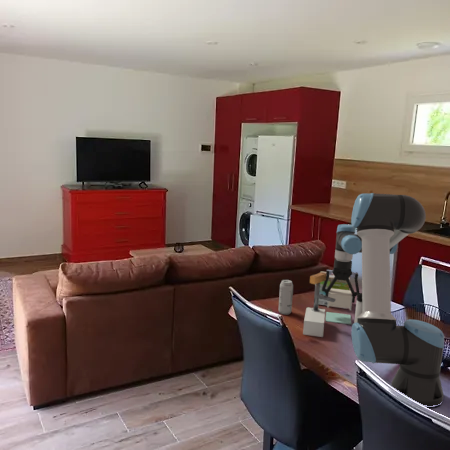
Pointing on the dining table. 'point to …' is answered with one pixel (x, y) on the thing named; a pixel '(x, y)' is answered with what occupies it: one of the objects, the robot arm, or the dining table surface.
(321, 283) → the tea box
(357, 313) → the travel mug
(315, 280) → the t key
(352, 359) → the dining table surface
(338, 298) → the cover
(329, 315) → the mat
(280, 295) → the energy drink can
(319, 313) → the block
